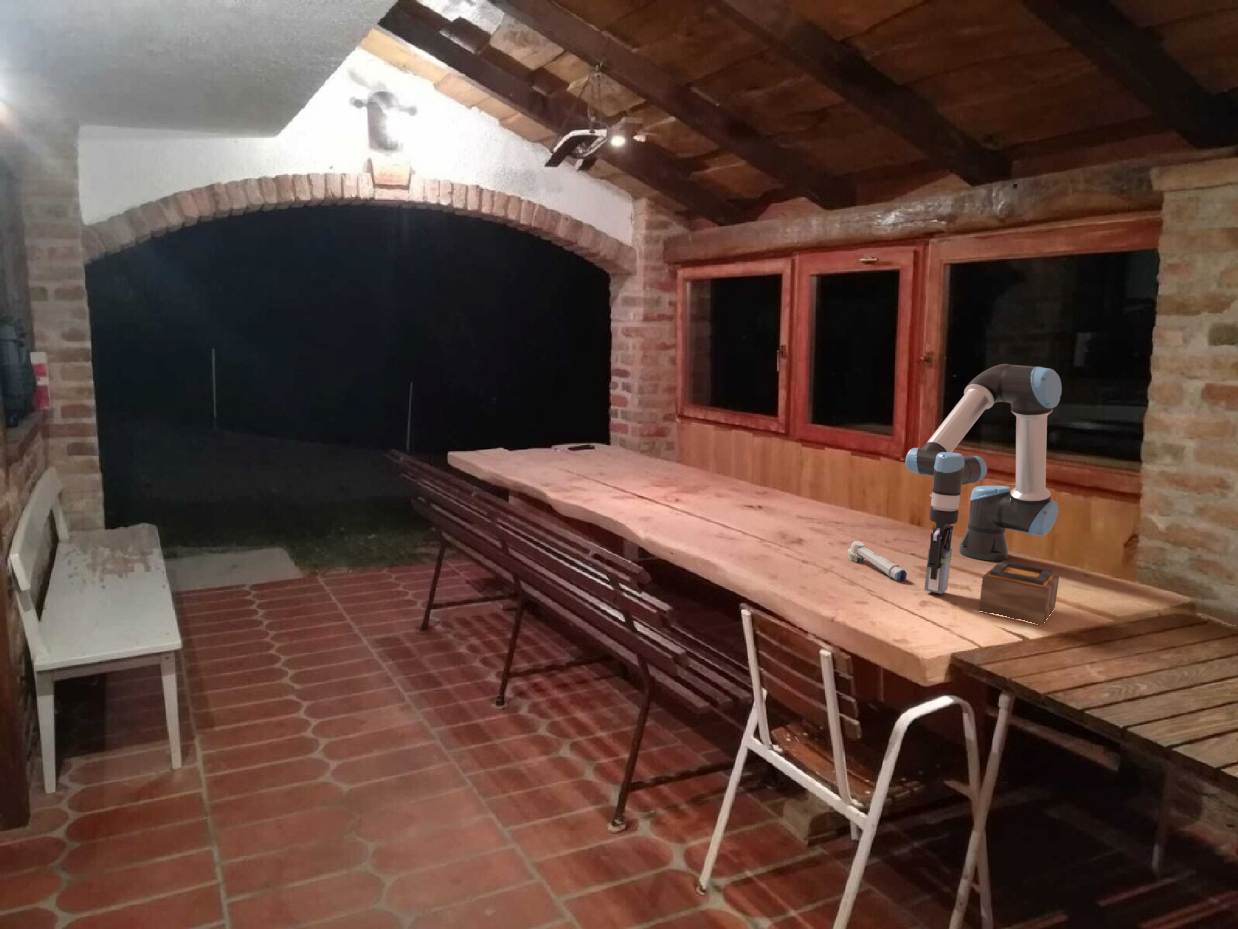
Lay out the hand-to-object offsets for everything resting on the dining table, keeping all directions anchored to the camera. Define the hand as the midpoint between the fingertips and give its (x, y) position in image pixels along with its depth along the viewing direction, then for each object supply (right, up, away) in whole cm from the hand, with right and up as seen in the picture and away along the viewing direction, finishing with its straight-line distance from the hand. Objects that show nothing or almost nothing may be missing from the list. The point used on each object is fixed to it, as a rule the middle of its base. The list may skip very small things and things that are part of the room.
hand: (936, 587), depth 260 cm
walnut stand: (+18, -5, -12) cm, 22 cm away
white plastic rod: (-12, +2, +21) cm, 24 cm away
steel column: (0, -1, 0) cm, 1 cm away
